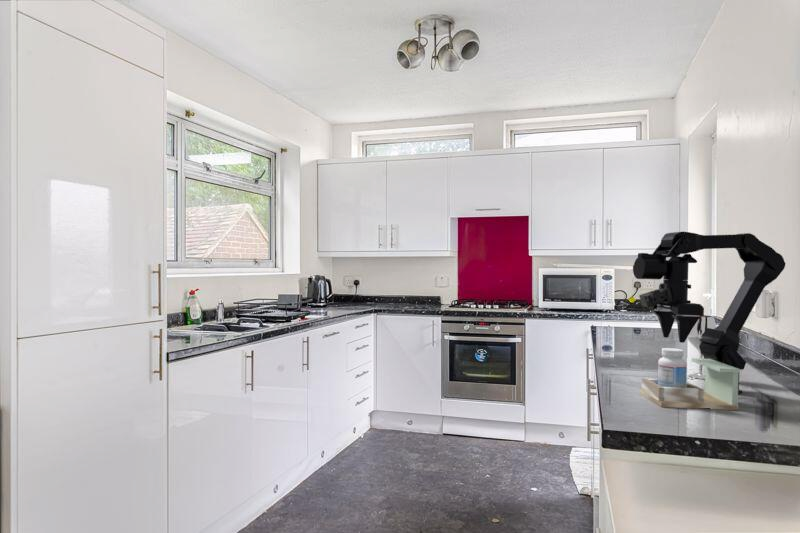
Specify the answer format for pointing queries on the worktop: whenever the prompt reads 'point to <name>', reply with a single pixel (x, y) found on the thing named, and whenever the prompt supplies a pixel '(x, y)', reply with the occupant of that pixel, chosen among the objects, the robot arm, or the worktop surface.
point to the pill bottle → (672, 368)
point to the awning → (720, 380)
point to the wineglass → (697, 334)
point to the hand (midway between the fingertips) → (673, 339)
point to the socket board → (682, 396)
